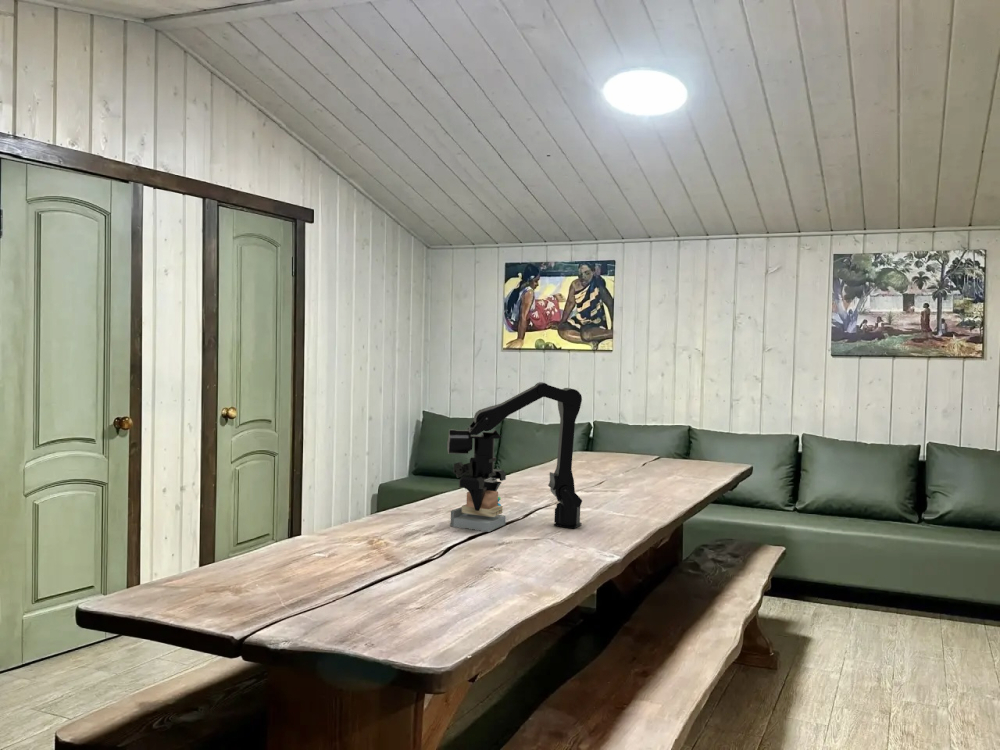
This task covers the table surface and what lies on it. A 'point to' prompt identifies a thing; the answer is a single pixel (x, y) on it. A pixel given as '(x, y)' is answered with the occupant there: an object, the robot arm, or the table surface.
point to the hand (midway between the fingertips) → (482, 508)
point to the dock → (476, 521)
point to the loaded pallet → (483, 512)
